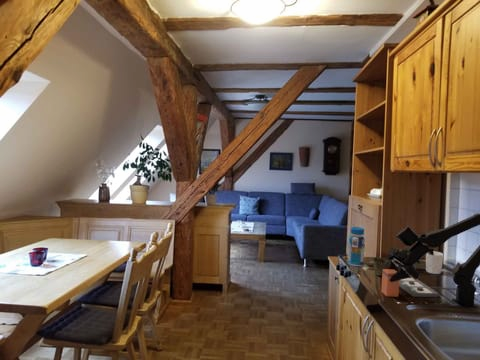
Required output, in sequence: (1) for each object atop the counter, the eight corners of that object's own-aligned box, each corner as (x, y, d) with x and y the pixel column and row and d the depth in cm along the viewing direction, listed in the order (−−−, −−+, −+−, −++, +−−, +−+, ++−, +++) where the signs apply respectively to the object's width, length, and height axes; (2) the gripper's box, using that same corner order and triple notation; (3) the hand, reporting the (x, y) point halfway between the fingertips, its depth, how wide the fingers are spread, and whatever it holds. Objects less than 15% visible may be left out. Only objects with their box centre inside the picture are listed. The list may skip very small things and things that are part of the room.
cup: (385, 273, 169) (386, 257, 169) (390, 278, 162) (391, 262, 162) (370, 272, 170) (371, 256, 170) (374, 277, 163) (375, 261, 162)
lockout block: (398, 296, 141) (399, 273, 140) (386, 296, 141) (387, 273, 140) (392, 291, 146) (394, 269, 145) (381, 291, 146) (382, 269, 145)
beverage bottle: (344, 262, 185) (346, 226, 184) (357, 261, 188) (359, 226, 186) (353, 267, 177) (355, 230, 176) (367, 266, 180) (369, 229, 178)
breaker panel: (438, 297, 141) (438, 291, 141) (412, 296, 141) (413, 290, 141) (413, 279, 161) (413, 274, 161) (390, 279, 161) (391, 274, 161)
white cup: (426, 268, 179) (427, 250, 178) (443, 271, 174) (444, 253, 174) (423, 271, 173) (424, 253, 172) (440, 275, 168) (442, 256, 167)
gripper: (391, 235, 151) (366, 258, 151) (414, 246, 132) (384, 273, 133) (407, 253, 151) (382, 276, 152) (432, 266, 133) (403, 292, 133)
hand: (387, 278), depth 143 cm, fingers closed on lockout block, 5 cm apart
